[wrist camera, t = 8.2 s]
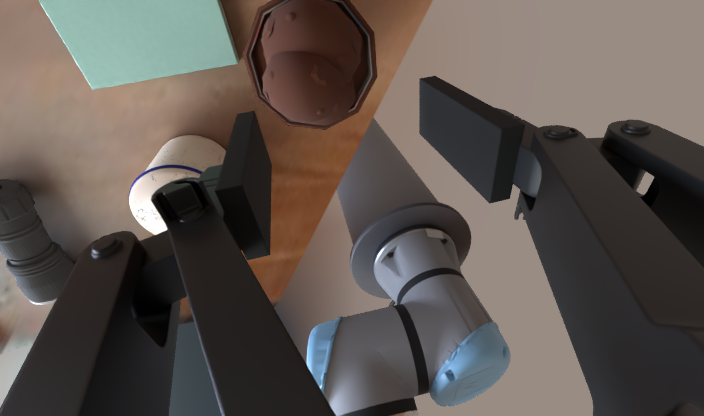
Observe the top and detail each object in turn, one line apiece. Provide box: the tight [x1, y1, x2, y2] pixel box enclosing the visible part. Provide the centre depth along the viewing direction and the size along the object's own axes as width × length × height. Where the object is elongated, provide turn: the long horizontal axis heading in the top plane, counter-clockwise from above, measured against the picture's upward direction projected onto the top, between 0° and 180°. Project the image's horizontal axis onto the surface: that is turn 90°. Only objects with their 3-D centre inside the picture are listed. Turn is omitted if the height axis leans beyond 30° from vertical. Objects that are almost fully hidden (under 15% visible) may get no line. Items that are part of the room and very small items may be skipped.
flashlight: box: [0, 179, 74, 305], centre depth 37 cm, size 15×5×5 cm, turn 177°
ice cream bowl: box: [243, 0, 377, 130], centre depth 27 cm, size 11×11×15 cm
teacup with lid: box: [129, 135, 226, 235], centre depth 35 cm, size 12×9×12 cm
